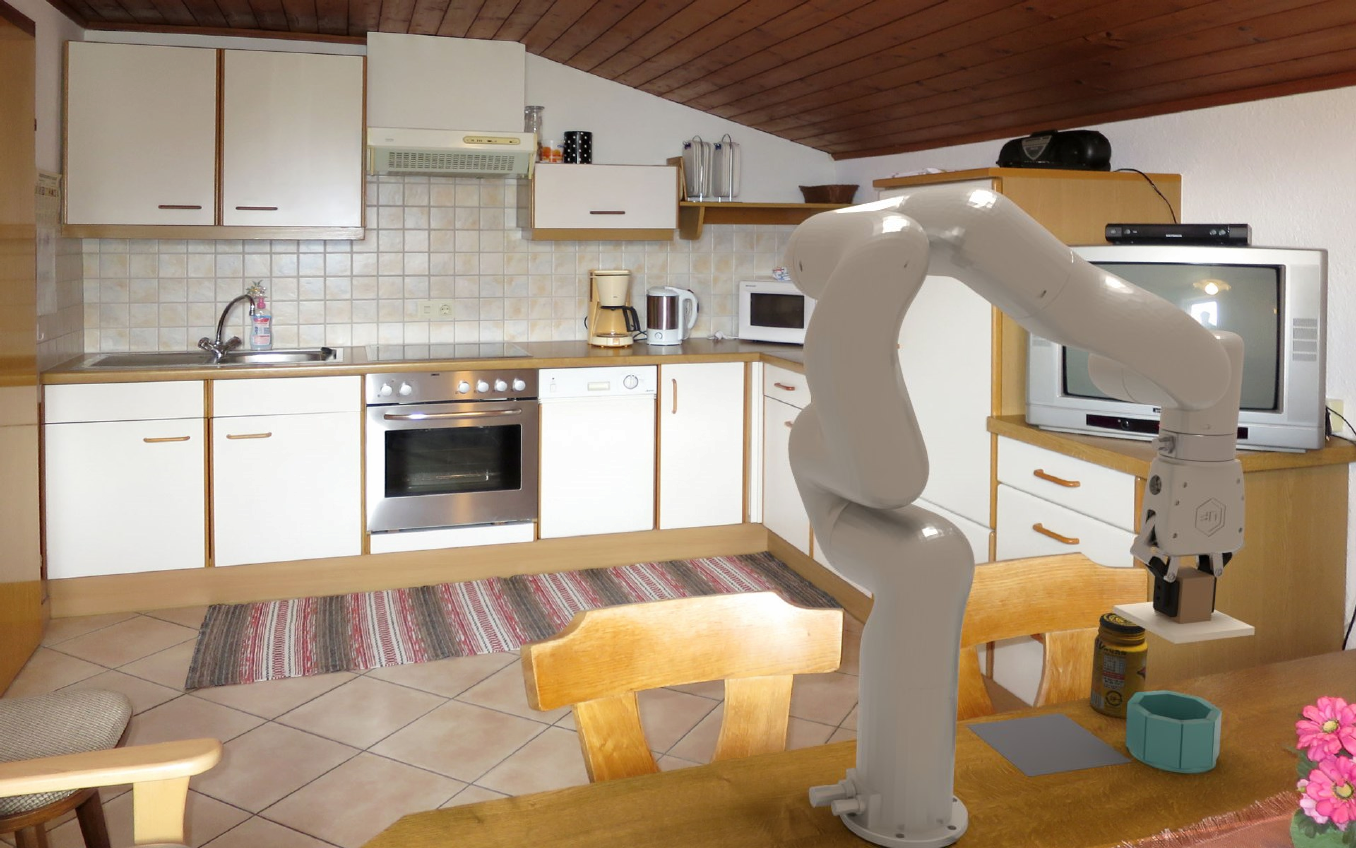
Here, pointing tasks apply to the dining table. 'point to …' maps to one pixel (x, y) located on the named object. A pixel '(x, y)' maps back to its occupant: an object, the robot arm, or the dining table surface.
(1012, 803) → the dining table surface
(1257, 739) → the dining table surface
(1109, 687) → the condiment
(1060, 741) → the mat
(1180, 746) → the bowl
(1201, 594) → the lid
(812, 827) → the dining table surface
